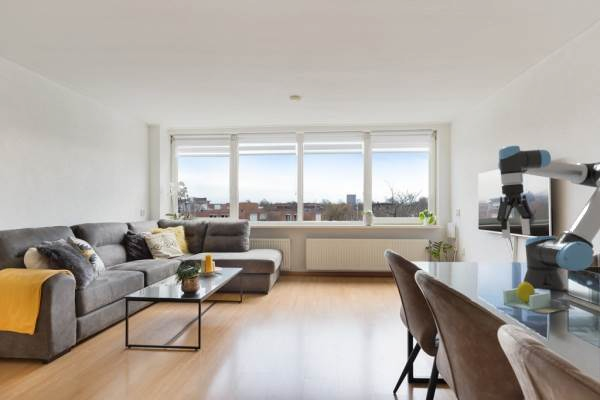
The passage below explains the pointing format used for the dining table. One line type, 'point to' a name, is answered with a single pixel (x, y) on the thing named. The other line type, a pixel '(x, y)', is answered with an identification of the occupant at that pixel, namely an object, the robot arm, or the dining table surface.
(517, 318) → the dining table surface
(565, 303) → the clip
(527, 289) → the lemon
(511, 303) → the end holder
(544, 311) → the board
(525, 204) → the robot arm
